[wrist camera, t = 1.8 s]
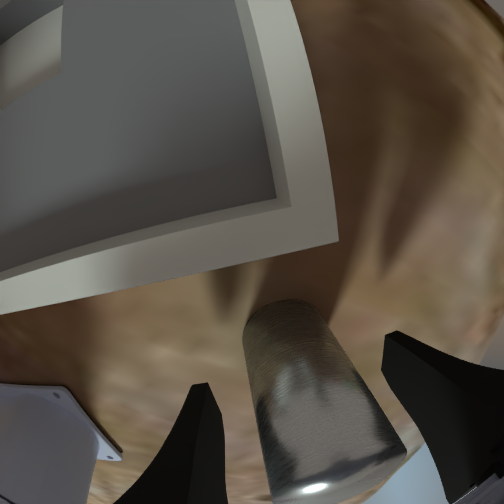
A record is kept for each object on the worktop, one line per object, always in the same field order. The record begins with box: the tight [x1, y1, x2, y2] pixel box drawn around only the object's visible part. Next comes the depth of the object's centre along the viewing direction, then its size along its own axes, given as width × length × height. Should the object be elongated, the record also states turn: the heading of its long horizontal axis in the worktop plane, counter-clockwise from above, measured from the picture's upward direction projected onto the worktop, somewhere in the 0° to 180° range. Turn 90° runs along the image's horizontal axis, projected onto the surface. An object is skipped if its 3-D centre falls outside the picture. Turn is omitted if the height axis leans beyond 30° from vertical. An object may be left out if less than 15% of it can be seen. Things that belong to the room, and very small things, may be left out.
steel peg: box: [242, 300, 407, 504], centre depth 9 cm, size 4×4×8 cm
